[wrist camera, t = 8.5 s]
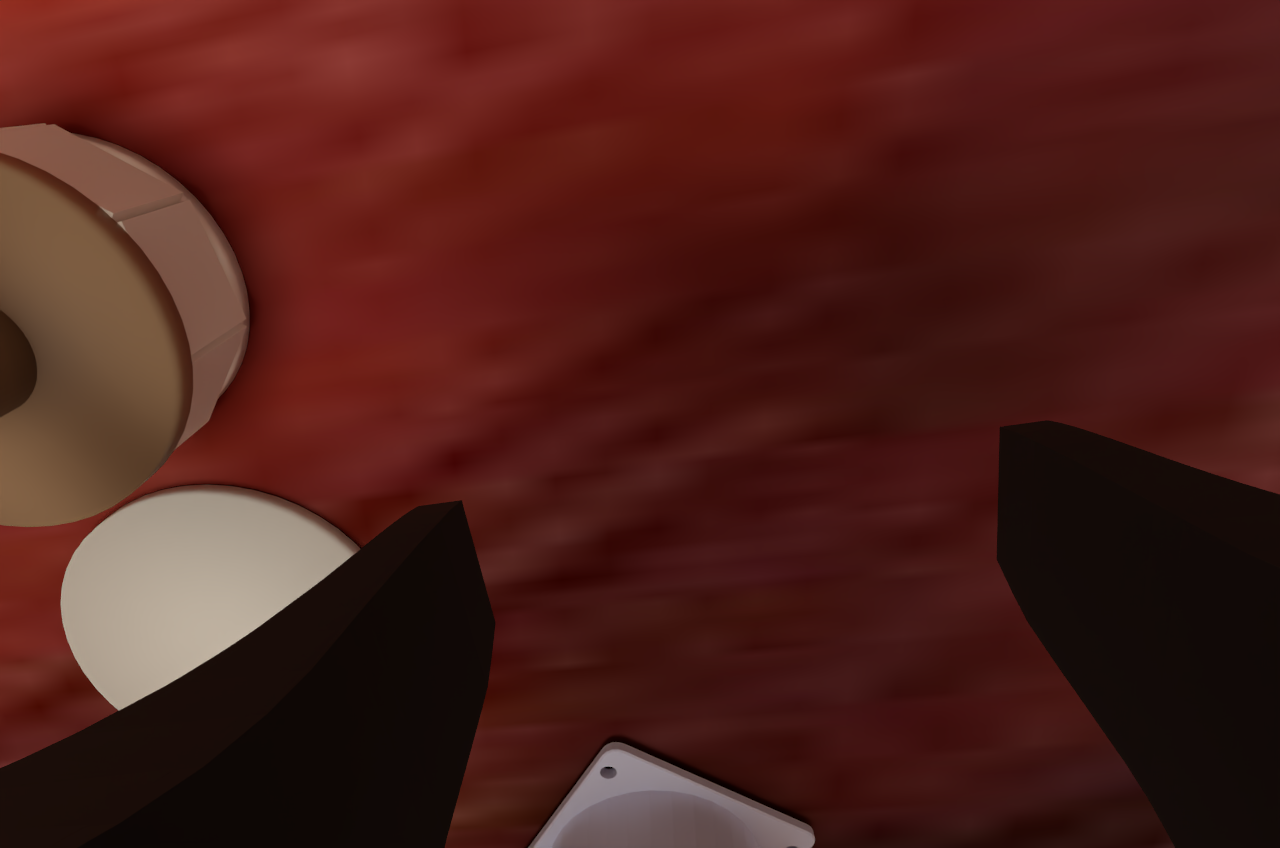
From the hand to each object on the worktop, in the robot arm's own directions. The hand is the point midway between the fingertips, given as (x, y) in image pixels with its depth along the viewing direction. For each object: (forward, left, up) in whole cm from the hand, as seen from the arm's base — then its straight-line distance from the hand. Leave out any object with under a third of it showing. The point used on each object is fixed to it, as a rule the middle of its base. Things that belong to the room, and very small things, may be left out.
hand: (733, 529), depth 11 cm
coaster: (-15, +7, -10) cm, 19 cm away
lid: (-7, +13, -7) cm, 16 cm away
